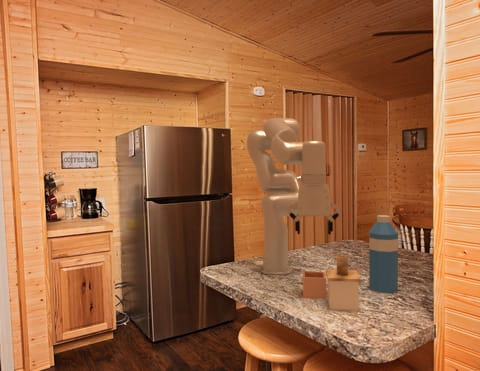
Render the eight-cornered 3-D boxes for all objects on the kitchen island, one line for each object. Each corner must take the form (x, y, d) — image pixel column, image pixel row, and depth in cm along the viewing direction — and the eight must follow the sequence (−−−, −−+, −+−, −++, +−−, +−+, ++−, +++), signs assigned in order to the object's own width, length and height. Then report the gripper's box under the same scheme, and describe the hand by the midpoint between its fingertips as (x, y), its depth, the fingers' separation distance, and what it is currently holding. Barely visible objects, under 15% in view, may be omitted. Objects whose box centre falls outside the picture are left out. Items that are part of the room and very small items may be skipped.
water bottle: (374, 283, 130) (374, 213, 129) (401, 289, 124) (402, 215, 123) (364, 290, 123) (364, 216, 121) (393, 296, 117) (393, 218, 116)
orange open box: (303, 299, 115) (303, 277, 115) (303, 292, 122) (303, 271, 122) (326, 300, 114) (325, 278, 114) (324, 293, 121) (324, 272, 121)
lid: (327, 280, 105) (327, 260, 105) (325, 272, 114) (325, 253, 114) (360, 281, 103) (360, 261, 103) (356, 272, 112) (356, 254, 112)
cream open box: (329, 311, 106) (329, 280, 105) (327, 301, 114) (327, 272, 113) (358, 312, 104) (358, 281, 104) (354, 302, 112) (354, 273, 112)
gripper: (285, 180, 114) (286, 235, 115) (343, 180, 111) (343, 236, 112) (286, 180, 122) (287, 231, 122) (340, 179, 119) (340, 232, 120)
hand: (313, 233), depth 117 cm, fingers open, 9 cm apart
